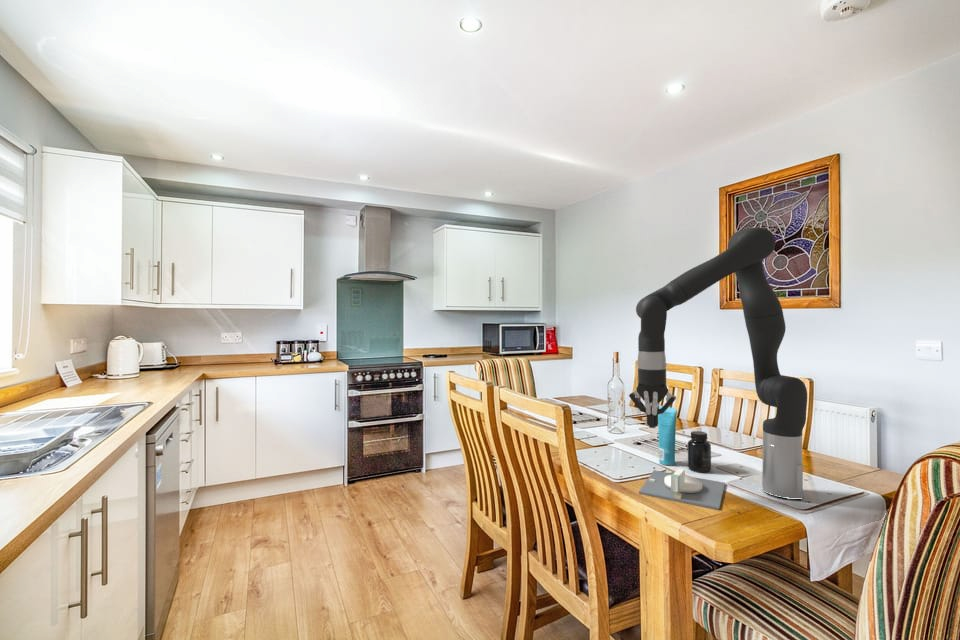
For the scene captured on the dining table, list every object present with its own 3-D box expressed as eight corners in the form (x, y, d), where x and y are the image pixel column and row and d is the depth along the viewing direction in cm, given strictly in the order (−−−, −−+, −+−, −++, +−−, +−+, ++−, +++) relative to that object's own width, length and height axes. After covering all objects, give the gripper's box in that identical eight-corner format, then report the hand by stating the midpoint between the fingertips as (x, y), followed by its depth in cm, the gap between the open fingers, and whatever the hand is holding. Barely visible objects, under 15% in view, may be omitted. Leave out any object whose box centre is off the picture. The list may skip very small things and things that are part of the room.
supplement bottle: (708, 467, 148) (708, 430, 148) (713, 474, 142) (713, 436, 141) (685, 465, 150) (686, 429, 150) (689, 472, 144) (689, 434, 143)
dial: (669, 477, 137) (669, 458, 137) (705, 484, 131) (705, 465, 131) (655, 492, 126) (655, 472, 125) (694, 501, 119) (694, 480, 119)
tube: (680, 464, 151) (681, 407, 150) (673, 467, 148) (673, 409, 147) (660, 459, 156) (660, 404, 156) (652, 462, 153) (652, 405, 153)
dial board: (724, 484, 133) (724, 479, 133) (719, 510, 116) (719, 504, 116) (653, 472, 144) (653, 467, 144) (639, 493, 127) (639, 488, 127)
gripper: (624, 367, 128) (625, 427, 129) (674, 369, 121) (675, 433, 122) (631, 364, 135) (632, 421, 135) (679, 366, 127) (679, 427, 128)
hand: (652, 427), depth 128 cm, fingers closed
